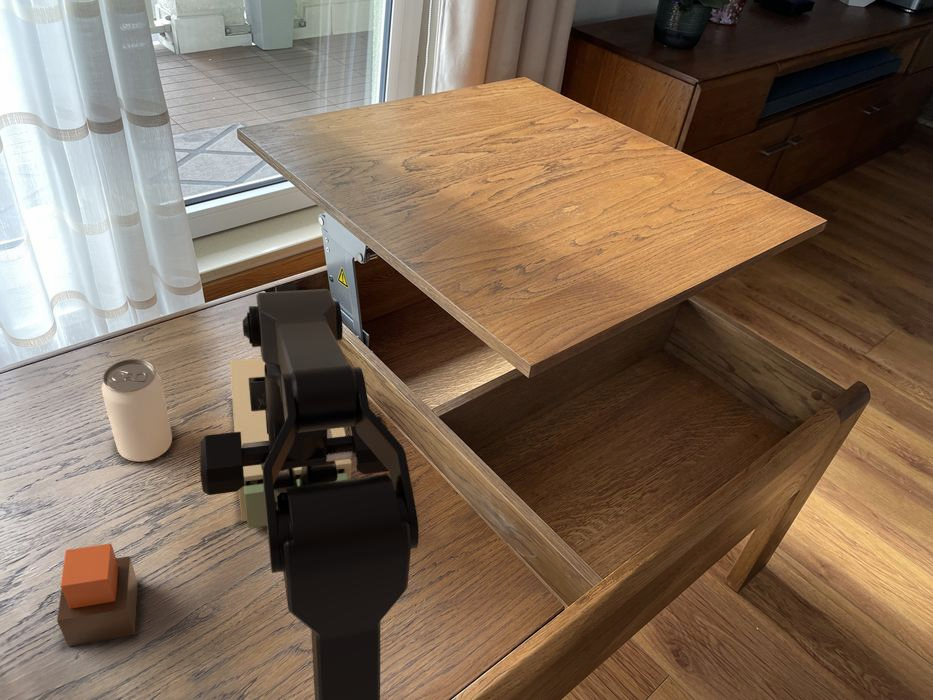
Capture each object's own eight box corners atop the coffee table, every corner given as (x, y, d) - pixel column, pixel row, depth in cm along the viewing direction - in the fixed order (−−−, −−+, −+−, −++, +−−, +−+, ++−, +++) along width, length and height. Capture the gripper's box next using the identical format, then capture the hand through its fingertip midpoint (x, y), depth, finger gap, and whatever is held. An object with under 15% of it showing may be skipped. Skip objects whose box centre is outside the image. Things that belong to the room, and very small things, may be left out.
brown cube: (134, 634, 72) (126, 608, 69) (68, 646, 70) (56, 620, 67) (137, 582, 76) (129, 555, 73) (75, 592, 75) (64, 565, 71)
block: (115, 601, 69) (108, 578, 67) (69, 609, 68) (60, 586, 66) (118, 566, 72) (111, 543, 70) (74, 572, 71) (65, 549, 68)
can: (124, 424, 92) (107, 355, 85) (177, 425, 93) (164, 357, 86) (111, 463, 87) (91, 393, 80) (167, 464, 89) (152, 395, 81)
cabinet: (349, 506, 88) (351, 463, 82) (242, 521, 84) (237, 477, 79) (327, 395, 101) (328, 352, 96) (234, 404, 98) (230, 360, 92)
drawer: (353, 548, 82) (355, 515, 78) (250, 565, 79) (246, 531, 75) (325, 405, 99) (326, 371, 95) (239, 413, 95) (236, 379, 91)
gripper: (378, 340, 77) (370, 439, 87) (192, 355, 71) (208, 458, 81) (400, 415, 69) (389, 513, 79) (193, 437, 63) (210, 540, 73)
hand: (299, 503), depth 78 cm, fingers closed
